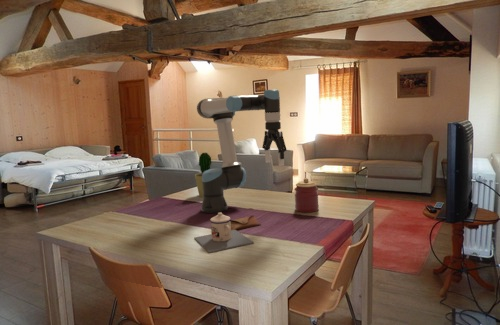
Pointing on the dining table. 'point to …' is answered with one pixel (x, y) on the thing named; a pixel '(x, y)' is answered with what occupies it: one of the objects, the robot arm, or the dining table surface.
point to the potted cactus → (204, 165)
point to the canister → (306, 196)
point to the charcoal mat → (215, 246)
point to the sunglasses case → (244, 223)
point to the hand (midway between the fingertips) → (274, 164)
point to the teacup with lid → (220, 228)
